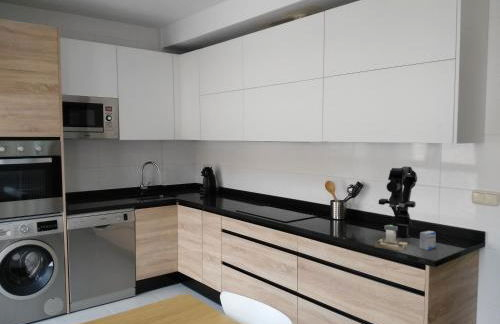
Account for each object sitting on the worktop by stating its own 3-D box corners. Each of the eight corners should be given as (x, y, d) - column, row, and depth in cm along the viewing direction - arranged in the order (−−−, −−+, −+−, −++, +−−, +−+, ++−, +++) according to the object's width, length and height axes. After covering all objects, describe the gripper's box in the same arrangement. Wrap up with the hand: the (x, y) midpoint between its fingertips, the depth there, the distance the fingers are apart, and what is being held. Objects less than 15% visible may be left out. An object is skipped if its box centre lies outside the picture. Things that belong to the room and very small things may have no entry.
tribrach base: (381, 242, 214) (381, 233, 214) (407, 246, 206) (408, 236, 206) (374, 246, 204) (375, 237, 204) (402, 251, 197) (402, 241, 196)
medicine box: (427, 250, 199) (428, 233, 198) (419, 248, 202) (419, 232, 202) (435, 248, 203) (436, 231, 203) (427, 246, 207) (427, 230, 207)
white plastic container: (385, 239, 207) (386, 223, 207) (397, 241, 204) (398, 225, 203) (383, 241, 203) (383, 225, 203) (395, 243, 200) (395, 227, 199)
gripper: (376, 190, 214) (375, 218, 215) (412, 193, 203) (411, 222, 204) (381, 188, 223) (380, 215, 224) (416, 191, 213) (415, 219, 214)
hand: (396, 218), depth 216 cm, fingers closed
